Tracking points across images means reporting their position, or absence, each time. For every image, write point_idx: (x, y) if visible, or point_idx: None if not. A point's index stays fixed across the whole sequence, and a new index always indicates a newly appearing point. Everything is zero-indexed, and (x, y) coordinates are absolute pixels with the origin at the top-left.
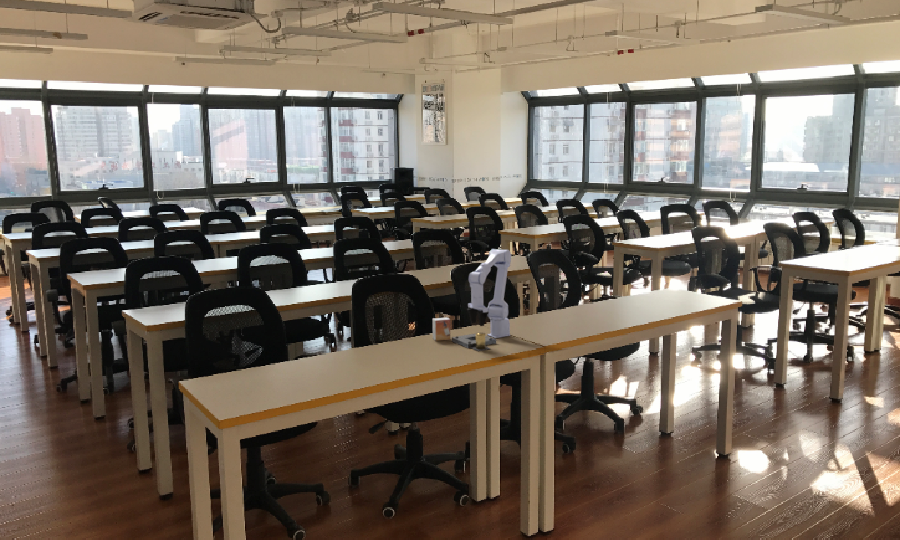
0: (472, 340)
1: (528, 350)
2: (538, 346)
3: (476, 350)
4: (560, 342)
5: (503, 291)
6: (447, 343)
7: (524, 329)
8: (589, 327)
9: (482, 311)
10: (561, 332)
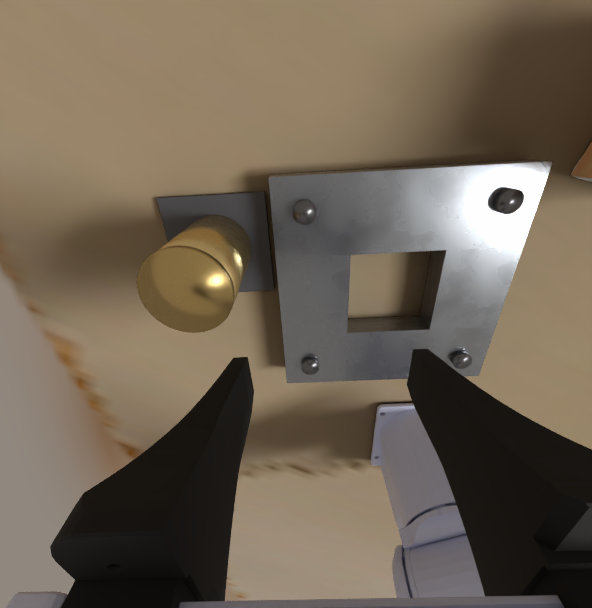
0: (349, 262)
1: (106, 416)
2: None
3: (181, 196)
4: None
5: None
6: (504, 88)
7: None
8: None
9: (81, 605)
10: (304, 559)
